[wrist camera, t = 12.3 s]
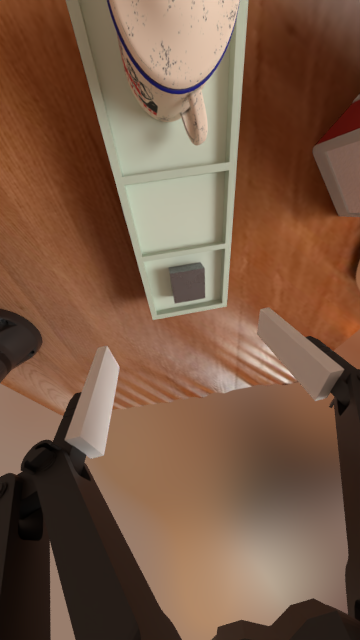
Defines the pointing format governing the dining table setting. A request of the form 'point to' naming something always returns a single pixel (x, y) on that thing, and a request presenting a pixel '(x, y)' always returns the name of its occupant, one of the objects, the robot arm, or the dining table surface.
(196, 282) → the block
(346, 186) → the red striped block
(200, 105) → the teacup with lid
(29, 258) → the dining table surface
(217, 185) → the divided tray
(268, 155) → the dining table surface
